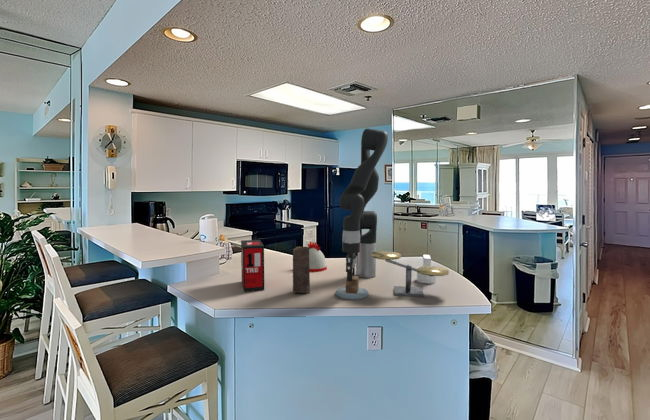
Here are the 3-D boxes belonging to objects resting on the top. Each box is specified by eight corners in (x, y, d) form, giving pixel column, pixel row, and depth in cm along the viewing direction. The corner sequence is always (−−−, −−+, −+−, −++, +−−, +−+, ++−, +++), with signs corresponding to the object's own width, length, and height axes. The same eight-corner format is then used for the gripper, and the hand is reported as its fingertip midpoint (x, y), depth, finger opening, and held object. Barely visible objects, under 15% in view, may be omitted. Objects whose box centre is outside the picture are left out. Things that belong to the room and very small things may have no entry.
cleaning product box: (241, 281, 169) (241, 240, 167) (260, 280, 171) (259, 239, 169) (243, 292, 153) (243, 246, 151) (264, 290, 155) (263, 245, 154)
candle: (303, 296, 147) (302, 249, 146) (289, 293, 151) (288, 247, 149) (313, 291, 154) (313, 246, 152) (299, 288, 158) (299, 244, 156)
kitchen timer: (312, 264, 203) (312, 239, 202) (331, 268, 195) (331, 241, 194) (296, 269, 192) (296, 242, 191) (316, 273, 184) (316, 245, 183)
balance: (369, 294, 149) (370, 256, 148) (370, 285, 162) (371, 250, 161) (450, 299, 144) (451, 259, 142) (445, 289, 156) (446, 253, 155)
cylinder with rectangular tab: (436, 284, 166) (437, 259, 165) (417, 282, 167) (417, 258, 166) (434, 278, 174) (435, 255, 173) (416, 277, 176) (416, 254, 175)
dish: (328, 294, 150) (328, 291, 150) (350, 287, 160) (350, 284, 160) (353, 302, 140) (353, 299, 140) (375, 294, 150) (375, 291, 150)
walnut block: (345, 292, 148) (345, 278, 147) (347, 289, 153) (347, 275, 152) (357, 293, 147) (357, 279, 146) (358, 290, 152) (358, 276, 151)
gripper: (344, 237, 156) (344, 273, 157) (340, 243, 142) (339, 282, 143) (361, 238, 154) (361, 274, 156) (358, 244, 140) (357, 283, 142)
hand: (350, 278), depth 150 cm, fingers open, 8 cm apart
